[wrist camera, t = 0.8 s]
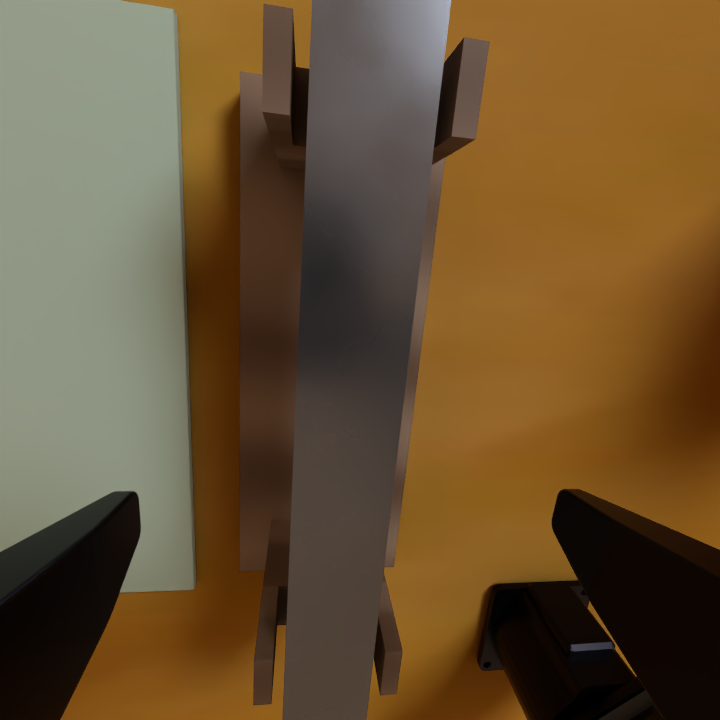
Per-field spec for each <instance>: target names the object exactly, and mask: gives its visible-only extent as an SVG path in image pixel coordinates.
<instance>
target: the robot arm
mask: <svg viewBox="0 0 720 720" xmlns="http://www.w3.org/2000/svg"><path fill="white" fill-rule="evenodd" d="M552 528H553V532H554V534H555V536H556V538H557V540H558V542H559V543H560V545H561V547H562V549H563V551H564V553H565V555H566V557H567V559H568V561H569V563H570V565H571V567H572V569H573V571H574V573H575V575H576V577H577V578H578V580H579V581H558V582H533V583H509V584H498V585H496V586H494V587H493V589H492V591H491V596H490V601H489V605H488V610H487V615H486V620H485V625H484V629H483V634H482V639H481V644H480V649H479V653H478V658H477V662H478V664H479V667H480V669H481V670H483V671H491V670H504V671H505V673H506V675H507V677H508V679H509V681H510V684H511V686H512V688H513V690H514V692H515V694H516V696H517V699H518V701H519V703H520V705H521V707H522V709H523V711H524V714H525V716H526V718H527V720H720V550H719V549H716V548H714V547H712V546H709V545H707V544H705V543H703V542H700V541H698V540H696V539H693V538H691V537H689V536H686V535H684V534H682V533H679V532H677V531H675V530H673V529H670V528H668V527H666V526H663V525H661V524H659V523H656V522H654V521H652V520H649V519H647V518H645V517H643V516H640V515H638V514H636V513H633V512H631V511H629V510H626V509H624V508H622V507H619V506H617V505H615V504H613V503H610V502H608V501H606V500H603V499H601V498H599V497H596V496H594V495H592V494H589V493H587V492H585V491H582V490H580V489H563V490H561V491H560V492H559V493H558V496H557V500H556V504H555V508H554V512H553V516H552ZM140 533H141V520H140V507H139V497H138V494H137V493H136V492H135V491H114V492H111V493H110V494H108V495H106V496H104V497H102V498H100V499H98V500H96V501H95V502H93V503H91V504H89V505H87V506H85V507H83V508H81V509H80V510H78V511H76V512H74V513H72V514H70V515H68V516H66V517H65V518H63V519H61V520H59V521H57V522H55V523H53V524H52V525H50V526H48V527H46V528H44V529H42V530H40V531H38V532H37V533H35V534H33V535H31V536H29V537H27V538H25V539H23V540H22V541H20V542H18V543H16V544H14V545H12V546H10V547H8V548H7V549H5V550H3V551H1V552H0V720H60V719H61V717H62V715H63V713H64V711H65V709H66V707H67V705H68V703H69V701H70V699H71V697H72V695H73V693H74V691H75V689H76V687H77V685H78V683H79V681H80V679H81V677H82V675H83V673H84V671H85V668H86V666H87V664H88V662H89V660H90V658H91V656H92V654H93V652H94V650H95V648H96V646H97V644H98V642H99V640H100V638H101V636H102V634H103V632H104V630H105V627H106V625H107V623H108V621H109V619H110V616H111V614H112V611H113V609H114V606H115V604H116V601H117V598H118V596H119V593H120V590H121V587H122V585H123V582H124V579H125V577H126V574H127V571H128V569H129V566H130V563H131V560H132V558H133V555H134V552H135V550H136V547H137V544H138V541H139V538H140ZM589 601H590V602H591V604H592V605H593V607H594V609H595V610H596V612H597V614H598V615H599V617H600V618H601V620H602V621H603V623H604V625H605V626H606V628H607V629H608V631H609V633H610V634H611V636H612V637H613V639H614V641H615V642H616V644H617V645H618V647H619V649H620V650H621V652H622V653H623V655H624V656H625V658H626V660H627V661H628V663H629V664H630V666H631V668H632V669H633V671H634V672H635V674H636V676H635V675H634V674H633V672H632V671H631V670H630V669H629V667H628V666H627V665H626V663H625V662H624V661H623V659H622V658H621V657H620V655H619V654H618V653H617V651H616V650H615V644H614V642H613V641H612V640H611V638H610V637H609V636H608V634H607V633H606V632H605V630H604V629H603V628H602V627H601V625H600V624H599V623H598V621H597V620H596V619H595V617H594V616H593V615H592V614H591V612H590V611H589V610H588V604H589Z"/></svg>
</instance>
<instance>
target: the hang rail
mask: <svg viewBox="0 0 720 720" xmlns="http://www.w3.org/2000/svg"><path fill="white" fill-rule="evenodd" d="M450 6H451V0H312V21H311V45H310V69H309V93H308V117H307V142H306V166H305V190H304V214H303V238H302V262H301V286H300V310H299V335H298V359H297V383H296V407H295V431H294V455H293V479H292V503H291V528H290V552H289V576H288V600H287V624H286V648H285V672H284V696H283V720H366V717H367V709H368V701H369V692H370V684H371V675H372V667H373V658H374V650H375V641H376V633H377V624H378V616H379V607H380V599H381V590H382V582H383V574H384V565H385V557H386V548H387V540H388V531H389V523H390V514H391V506H392V497H393V489H394V480H395V472H396V463H397V455H398V447H399V438H400V430H401V421H402V413H403V404H404V396H405V387H406V379H407V370H408V362H409V353H410V345H411V336H412V328H413V320H414V311H415V303H416V294H417V286H418V277H419V269H420V260H421V252H422V243H423V235H424V226H425V218H426V209H427V201H428V193H429V184H430V176H431V167H432V159H433V150H434V142H435V133H436V125H437V116H438V108H439V99H440V91H441V83H442V74H443V66H444V57H445V49H446V40H447V32H448V23H449V15H450Z"/></svg>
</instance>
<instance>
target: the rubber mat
mask: <svg viewBox="0 0 720 720" xmlns="http://www.w3.org/2000/svg"><path fill="white" fill-rule="evenodd" d="M114 491H135V492H136V493H137V494H138V497H139V507H140V520H141V533H140V538H139V541H138V544H137V547H136V550H135V552H134V555H133V558H132V560H131V563H130V566H129V569H128V571H127V574H126V577H125V579H124V582H123V585H122V587H121V590H120V593H123V592H149V591H174V590H194V588H195V585H196V560H195V530H194V500H193V470H192V440H191V411H190V381H189V351H188V321H187V291H186V261H185V231H184V201H183V171H182V141H181V111H180V81H179V51H178V21H177V15H176V13H175V11H174V9H170V8H164V7H158V6H152V5H145V4H139V3H133V2H127V1H120V0H0V552H1V551H3V550H5V549H7V548H8V547H10V546H12V545H14V544H16V543H18V542H20V541H22V540H23V539H25V538H27V537H29V536H31V535H33V534H35V533H37V532H38V531H40V530H42V529H44V528H46V527H48V526H50V525H52V524H53V523H55V522H57V521H59V520H61V519H63V518H65V517H66V516H68V515H70V514H72V513H74V512H76V511H78V510H80V509H81V508H83V507H85V506H87V505H89V504H91V503H93V502H95V501H96V500H98V499H100V498H102V497H104V496H106V495H108V494H110V493H111V492H114Z"/></svg>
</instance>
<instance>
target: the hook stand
mask: <svg viewBox="0 0 720 720" xmlns="http://www.w3.org/2000/svg"><path fill="white" fill-rule="evenodd" d="M488 48H489V41H483V40H477V39H471V38H465V37H464V38H463V40H462V41H461V42H460V43H459V45H458V46H457V47H456V49H455V50H454V51H453V52H452V54H451V55H450V56H449V58H448V59H447V60H446V61H445V63H444V66H443V74H442V83H441V91H440V99H439V108H438V116H437V125H436V133H435V142H434V150H433V159H432V167H431V176H430V184H429V193H428V201H427V209H426V218H425V226H424V235H423V243H422V252H421V260H420V269H419V277H418V286H417V294H416V303H415V311H414V320H413V328H412V336H411V345H410V353H409V362H408V370H407V379H406V387H405V396H404V404H403V413H402V421H401V430H400V438H399V447H398V455H397V463H396V472H395V480H394V489H393V497H392V506H391V514H390V523H389V531H388V540H387V548H386V557H385V565H384V567H394V560H395V553H396V545H397V537H398V529H399V521H400V513H401V505H402V497H403V489H404V481H405V473H406V465H407V457H408V449H409V441H410V433H411V425H412V417H413V409H414V401H415V393H416V385H417V378H418V370H419V362H420V354H421V346H422V338H423V330H424V322H425V314H426V306H427V298H428V290H429V282H430V274H431V266H432V258H433V250H434V242H435V234H436V226H437V218H438V210H439V202H440V195H441V187H442V179H443V171H444V163H445V157H447V156H448V155H450V154H452V153H453V152H455V151H457V150H458V149H460V148H462V147H463V146H465V145H467V144H468V143H470V142H472V141H473V140H475V139H476V132H477V125H478V118H479V111H480V104H481V97H482V90H483V83H484V76H485V69H486V62H487V55H488ZM308 93H309V69H306V68H299V67H296V62H295V42H294V23H293V9H291V8H285V7H279V6H273V5H267V4H264V14H263V75H260V74H253V73H246V72H240V503H239V572H252V571H265V574H264V583H263V591H262V599H261V607H260V616H259V624H258V632H257V641H256V649H255V657H254V700H253V705H264V704H271V702H272V688H273V674H274V661H275V647H276V633H277V625H286V624H287V600H288V576H289V552H290V528H291V503H292V479H293V455H294V431H295V407H296V383H297V359H298V335H299V310H300V286H301V262H302V238H303V214H304V190H305V166H306V142H307V117H308ZM402 652H403V651H402V647H401V642H400V638H399V634H398V630H397V626H396V622H395V617H394V613H393V609H392V605H391V601H390V596H389V592H388V588H387V584H386V580H385V576H384V574H383V582H382V590H381V599H380V607H379V616H378V624H377V633H376V641H375V650H374V662H375V668H376V674H377V680H378V686H379V692H380V695H389V694H397V687H398V680H399V673H400V666H401V659H402Z"/></svg>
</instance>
